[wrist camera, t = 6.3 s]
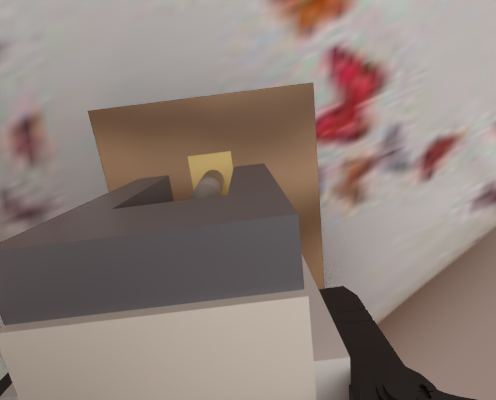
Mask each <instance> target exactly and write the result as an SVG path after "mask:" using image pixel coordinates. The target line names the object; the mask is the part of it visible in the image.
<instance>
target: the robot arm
mask: <svg viewBox="0 0 496 400" xmlns="http://www.w3.org/2000/svg"><path fill="white" fill-rule="evenodd" d="M302 265H303V277H304V286H305V289H306V291H307V294H308V296H309V309H310V321H311V334H312V347H313V359H314V372H315V385H316V397H317V400H475V399H470V398H464V397H458V396H454V395H450V394H447V393H444V392H441V391H439V390H437V389H436V387H435V386H434V385H433V384H432V383H431V382H429V381H428V380H427V379H426V378H425V377H424V376H422V375H421V374H419V373H417V372H415V371H413V370H411V369H409V368H407V367H406V366H405V365H404V364H403V363H402V361H401V360H400V358H399V357H398V356H397V354H396V352H395V351H394V349H393V348H392V346H391V345H390V343H389V342H388V341H387V339H386V338H385V336H384V335H383V333H382V332H381V330H380V329H379V327H378V326H377V324H376V323H375V321H373V320H372V317H371V315H370V314H369V312H368V311H367V310H366V309H365V307H364V305H363V304H362V302H361V301H360V299H359V298H358V296H357V295H356V294H354V293H353V292H351V291H350V290H348V289H347V288H345V287H344V286H342V287H334V288H325V289H318V287H317V285H316V283H315V281H314V279H313V277H312V275H311V272H310V270H309V268H308V266H307V264H306V262H305V260H304V257H303V255H302ZM0 400H19V398H18V395H17V393H16V390H15V388H14V385H13V383H12V380H11V378H10V375H9V373H7V374H6V375H5V376H4V377H3V378H2V379H1V381H0Z"/></svg>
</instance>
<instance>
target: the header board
mask: <svg viewBox="0 0 496 400" xmlns="http://www.w3.org/2000/svg"><path fill="white" fill-rule="evenodd" d="M88 114H89V117H90V121H91V125H92V129H93V133H94V136H95V140H96V144H97V148H98V152H99V155H100V159H101V163H102V167H103V171H104V174H105V178H106V182H107V186H108V190H109V192H111V191H113V190H115V189H118V188H120V187H122V186H124V185H126V184H128V183H131V182H133V181H135V180H137V179H140V178H149V177H157V176H165V175H169V179H170V184H171V189H172V194H173V200H174V201H181V200H189V199H197V198H205V197H214V196H222V195H227V194H228V190H229V185H230V181H231V177H232V173H233V168H234V167H237V166H245V165H253V164H261V163H264V164H265V165H266V167H267V168H268V170H269V171H270V173H271V174H272V176H273V177H274V179H275V180H276V182H277V183H278V185H279V186H280V188H281V189H282V191H283V192H284V194H285V195H286V197H287V198H288V199H289V201H290V202H291V204H292V205H293V207H294V208H295V210H296V211H297V213H298V216H299V228H300V241H301V253H302V255H303V257H304V260H305V262H306V264H307V266H308V268H309V270H310V272H311V275H312V277H313V279H314V281H315V283H316V285H317V287H318V289H324V272H323V254H322V236H321V217H320V199H319V180H318V162H317V144H316V125H315V107H314V89H313V83H306V84H298V85H290V86H282V87H274V88H266V89H258V90H250V91H242V92H235V93H227V94H219V95H211V96H203V97H195V98H187V99H179V100H171V101H163V102H155V103H148V104H140V105H132V106H124V107H116V108H108V109H100V110H92V111H88Z"/></svg>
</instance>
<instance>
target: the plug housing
mask: <svg viewBox="0 0 496 400" xmlns="http://www.w3.org/2000/svg"><path fill="white" fill-rule="evenodd" d="M0 315H1V317H2V320H3V322H4V325H3V326H2V327H1V328H0V353H1V355H2V358H3V360H4V363H5V365H6V368H7V370H8V373H9V375H10V378H11V380H12V383H13V385H14V388H15V390H16V393H17V395H18V398H19V400H317V397H316V385H315V372H314V359H313V347H312V334H311V321H310V309H309V296H308V294H307V291H306V289H305V286H304V277H303V265H302V253H301V241H300V228H299V216H298V213H297V211H296V210H295V208H294V207H293V205H292V204H291V202H290V201H289V199H288V198H287V197H286V195H285V194H284V192H283V191H282V189H281V188H280V186H279V185H278V183H277V182H276V180H275V179H274V177H273V176H272V174H271V173H270V171H269V170H268V168H267V167H266V165H265V164H264V163H261V164H253V165H245V166H237V167H234V168H233V173H232V177H231V181H230V185H229V190H228V194H227V195H222V196H214V197H205V198H197V199H189V200H181V201H174V200H173V194H172V189H171V184H170V179H169V175H165V176H157V177H149V178H140V179H137V180H135V181H133V182H131V183H128V184H126V185H124V186H122V187H120V188H118V189H115V190H113V191H111V192H109V193H107V194H105V195H102V196H100V197H98V198H96V199H94V200H92V201H89V202H87V203H85V204H83V205H81V206H79V207H76V208H74V209H72V210H70V211H68V212H66V213H63V214H61V215H59V216H57V217H55V218H53V219H50V220H48V221H46V222H44V223H42V224H40V225H37V226H35V227H33V228H31V229H29V230H27V231H24V232H22V233H20V234H18V235H16V236H14V237H11V238H9V239H7V240H5V241H3V242H1V243H0Z"/></svg>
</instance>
